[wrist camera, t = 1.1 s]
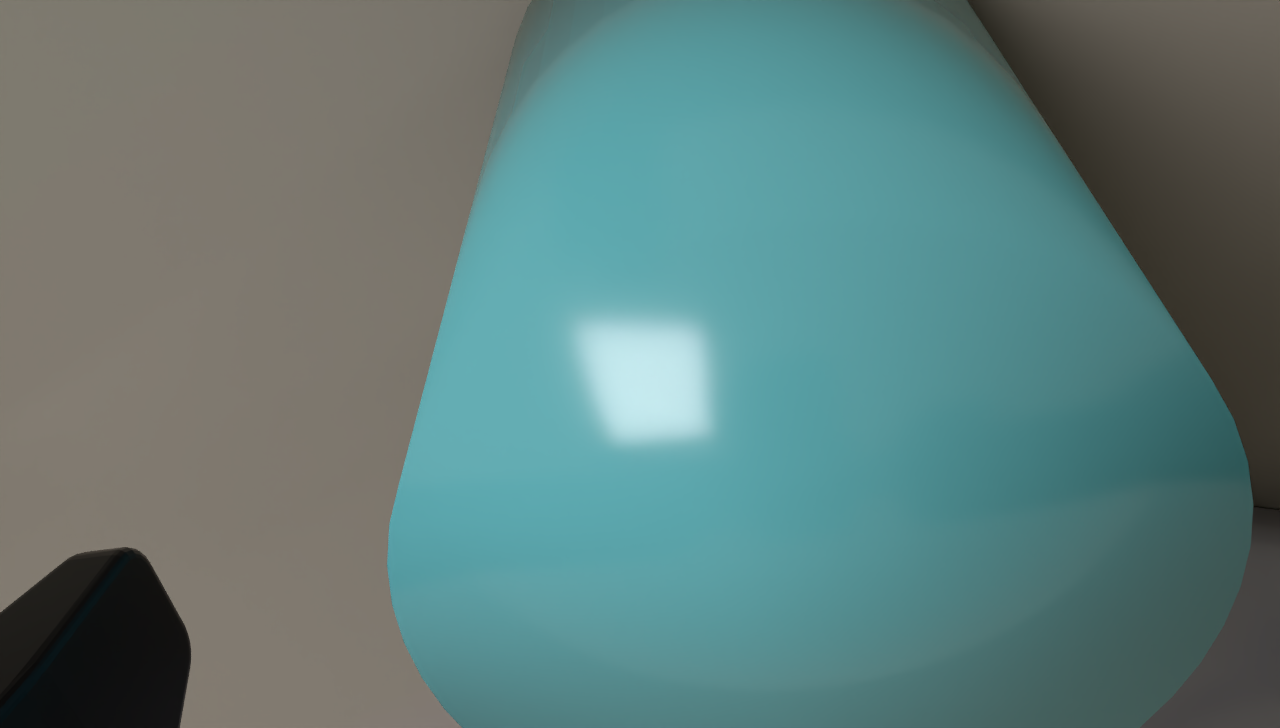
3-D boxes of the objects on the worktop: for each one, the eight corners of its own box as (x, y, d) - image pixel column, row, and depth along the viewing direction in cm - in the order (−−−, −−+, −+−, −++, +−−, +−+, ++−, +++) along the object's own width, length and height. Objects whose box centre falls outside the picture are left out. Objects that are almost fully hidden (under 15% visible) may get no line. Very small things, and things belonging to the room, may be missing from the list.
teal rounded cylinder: (976, -175, 11) (1313, 148, 6) (982, 282, 14) (1209, 809, 8) (454, -83, 12) (263, 301, 6) (559, 340, 15) (499, 876, 9)
